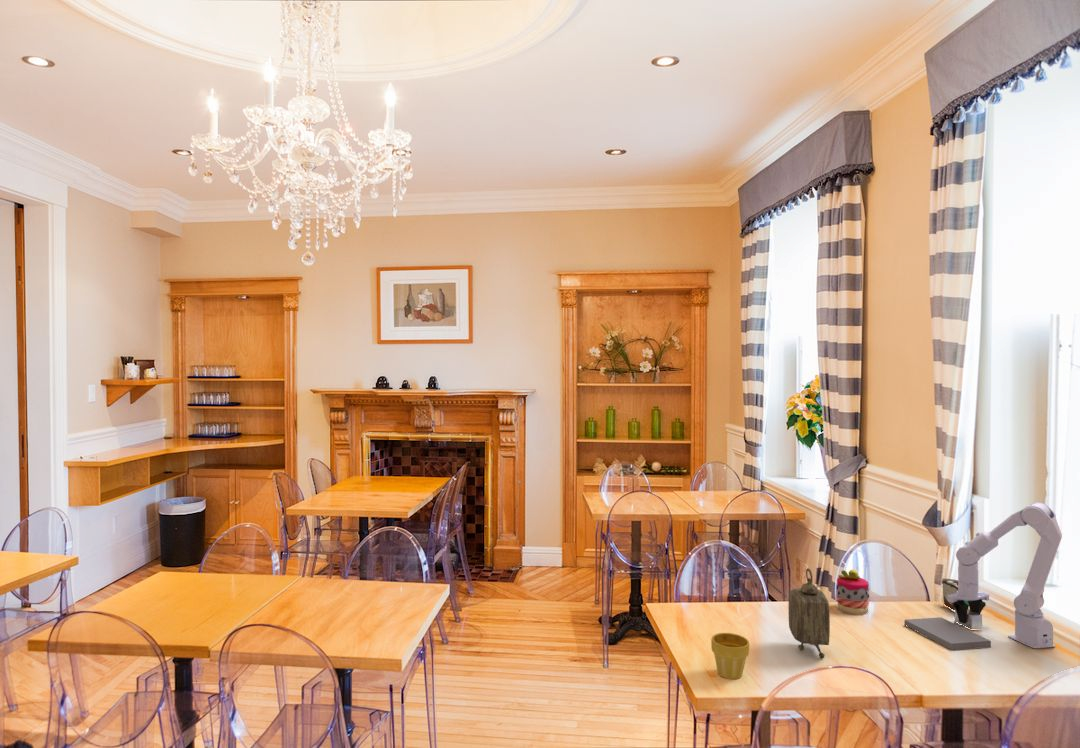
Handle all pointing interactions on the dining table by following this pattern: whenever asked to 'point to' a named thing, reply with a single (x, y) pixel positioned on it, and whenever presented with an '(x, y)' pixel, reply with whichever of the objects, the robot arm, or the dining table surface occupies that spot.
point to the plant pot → (730, 654)
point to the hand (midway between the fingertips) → (968, 622)
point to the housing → (971, 620)
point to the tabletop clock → (809, 615)
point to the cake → (852, 593)
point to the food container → (950, 591)
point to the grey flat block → (948, 633)
